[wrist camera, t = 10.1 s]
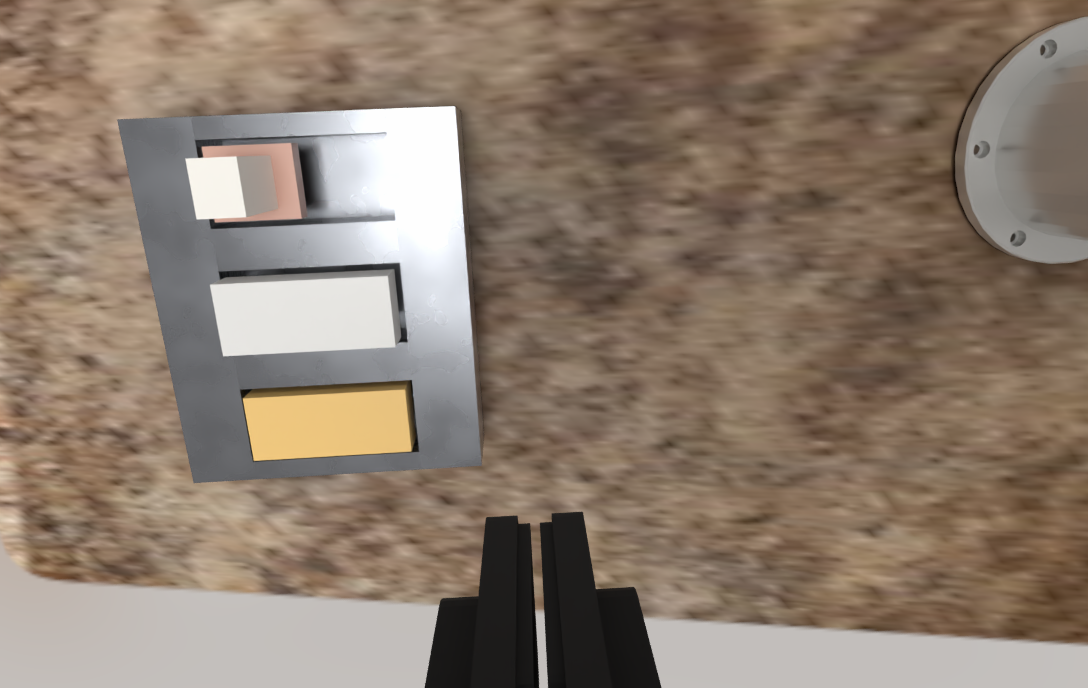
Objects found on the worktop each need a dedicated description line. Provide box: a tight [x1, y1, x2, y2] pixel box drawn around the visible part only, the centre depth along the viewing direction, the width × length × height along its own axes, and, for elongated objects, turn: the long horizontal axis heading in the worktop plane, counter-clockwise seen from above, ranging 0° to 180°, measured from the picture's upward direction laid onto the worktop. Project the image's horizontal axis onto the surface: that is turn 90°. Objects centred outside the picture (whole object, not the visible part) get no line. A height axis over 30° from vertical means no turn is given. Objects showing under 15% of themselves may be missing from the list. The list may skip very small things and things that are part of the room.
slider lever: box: [185, 143, 308, 223], centre depth 29 cm, size 4×3×5 cm
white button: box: [210, 269, 401, 356], centre depth 32 cm, size 8×3×2 cm, turn 92°
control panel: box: [117, 106, 484, 483], centre depth 34 cm, size 15×18×4 cm
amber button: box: [243, 380, 416, 461], centre depth 35 cm, size 8×3×2 cm, turn 92°
